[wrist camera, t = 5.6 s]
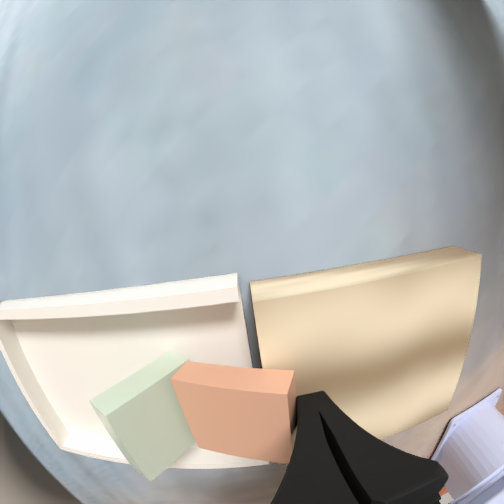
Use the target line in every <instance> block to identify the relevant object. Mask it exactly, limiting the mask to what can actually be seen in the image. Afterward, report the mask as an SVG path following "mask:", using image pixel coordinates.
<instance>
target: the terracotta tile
mask: <svg viewBox="0 0 504 504" xmlns="http://www.w3.org/2000/svg"><path fill="white" fill-rule="evenodd" d="M171 382H172V385H173V387H174V390H175V393H176V395H177V398H178V401H179V403H180V406H181V408H182V411H183V413H184V416H185V418H186V420H187V423H188V425H189V428H190V430H191V432H192V434H193V437H194V439H195V441H196V443H197V446H198V448H202V449H206V450H210V451H214V452H218V453H223V454H228V455H233V456H238V457H243V458H249V459H255V460H262V461H270V462H278V463H288V464H289V462H290V458H291V455H292V451H293V447H294V442H295V437H296V431H297V410H296V383H295V370H276V369H259V368H245V367H234V366H224V365H215V364H206V363H199V362H191V361H186V362H185V363H184V365H183V366H182V367H181V368H180V369H179V370H178V371H177V372H176V373H175V374H174V376H173V377H172V378H171Z"/></svg>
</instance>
